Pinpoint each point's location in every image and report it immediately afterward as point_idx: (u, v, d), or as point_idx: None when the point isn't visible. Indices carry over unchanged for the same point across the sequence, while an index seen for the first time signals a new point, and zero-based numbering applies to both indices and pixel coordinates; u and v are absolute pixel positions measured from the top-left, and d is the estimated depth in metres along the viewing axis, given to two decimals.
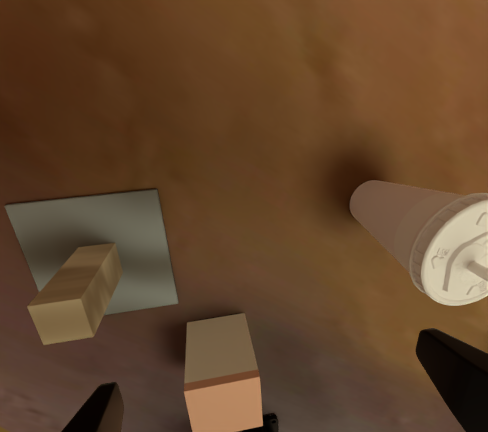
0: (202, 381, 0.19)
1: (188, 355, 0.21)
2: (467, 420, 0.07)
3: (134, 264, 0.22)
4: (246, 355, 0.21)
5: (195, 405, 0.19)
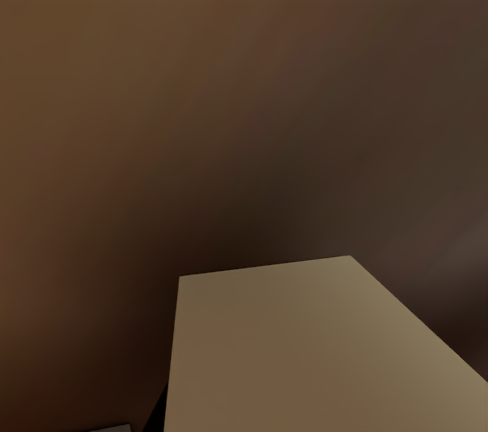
0: None
1: None
2: None
3: None
4: None
5: None
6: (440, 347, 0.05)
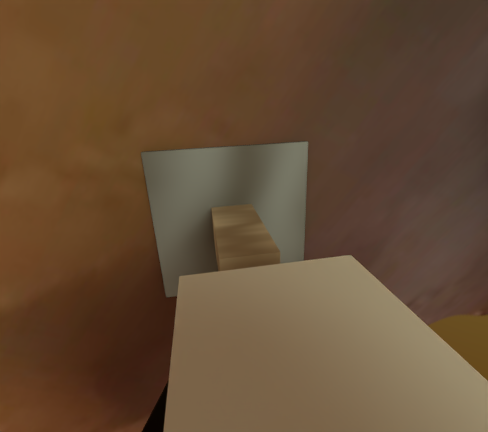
0: None
1: None
2: None
3: (242, 189, 0.18)
4: None
5: None
6: (442, 347, 0.05)
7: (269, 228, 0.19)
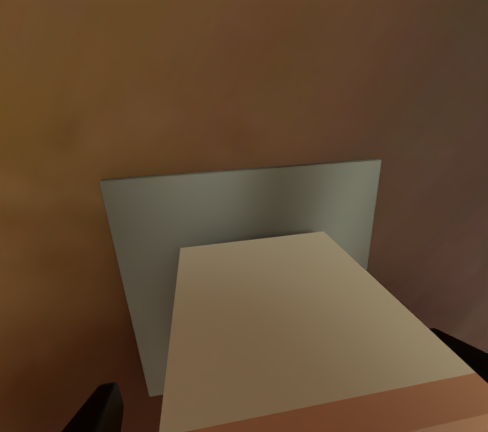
0: None
1: None
2: None
3: None
4: None
5: None
6: (379, 289, 0.07)
7: None
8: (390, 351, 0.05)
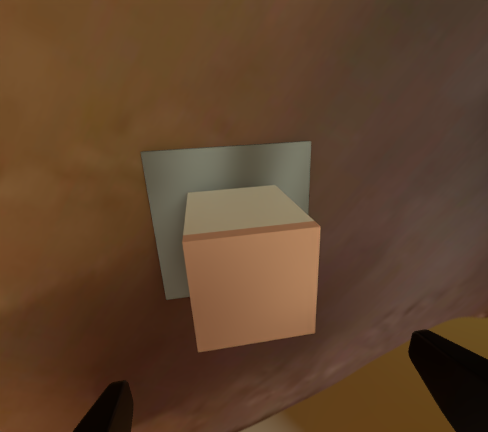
0: None
1: None
2: (458, 422, 0.07)
3: None
4: None
5: (232, 336, 0.12)
6: (291, 203, 0.13)
7: None
8: (283, 217, 0.12)
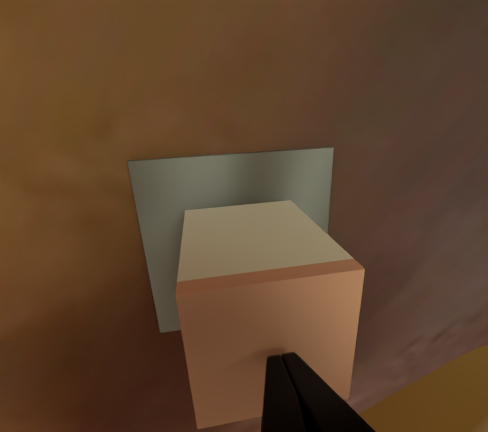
0: None
1: None
2: None
3: None
4: None
5: (243, 408, 0.09)
6: (316, 228, 0.10)
7: None
8: (310, 252, 0.09)
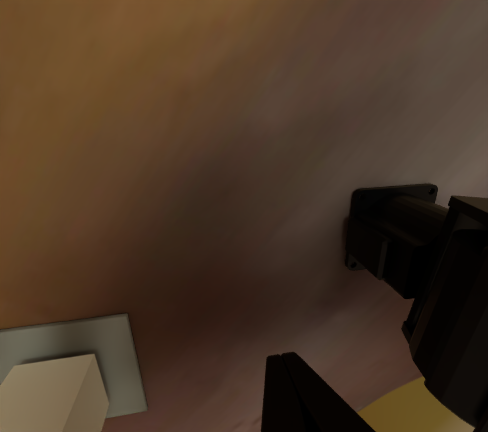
0: None
1: None
2: None
3: (72, 353, 0.20)
4: None
5: None
6: (70, 403, 0.16)
7: (105, 377, 0.22)
8: None
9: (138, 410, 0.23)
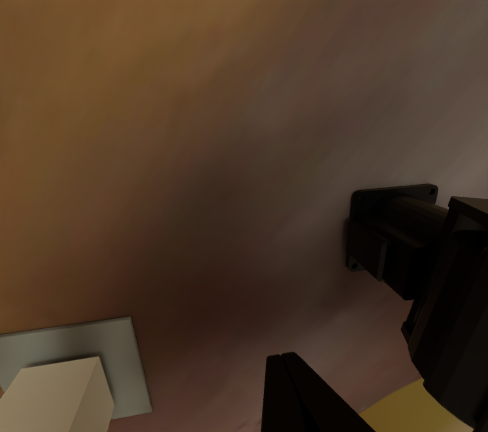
0: None
1: None
2: None
3: (77, 356, 0.21)
4: None
5: None
6: (76, 405, 0.17)
7: (110, 379, 0.22)
8: None
9: (143, 411, 0.24)
